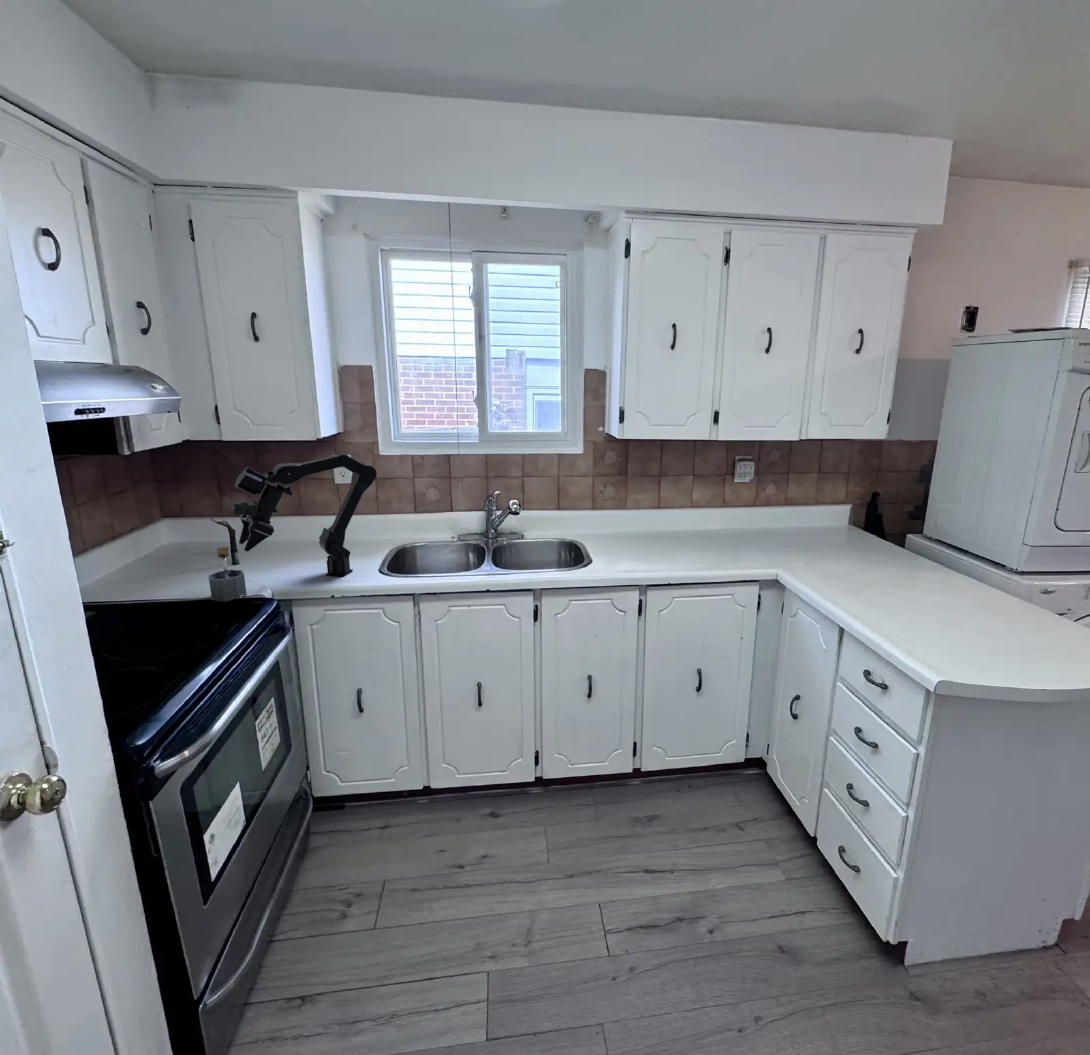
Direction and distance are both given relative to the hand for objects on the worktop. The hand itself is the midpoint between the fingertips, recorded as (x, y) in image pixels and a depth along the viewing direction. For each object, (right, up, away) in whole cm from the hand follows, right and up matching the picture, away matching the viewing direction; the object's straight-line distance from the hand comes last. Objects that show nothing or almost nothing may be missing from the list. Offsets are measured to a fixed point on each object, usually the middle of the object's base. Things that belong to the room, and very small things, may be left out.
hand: (243, 547), depth 169 cm
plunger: (-3, -10, -3) cm, 11 cm away
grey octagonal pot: (-3, -15, -2) cm, 15 cm away
